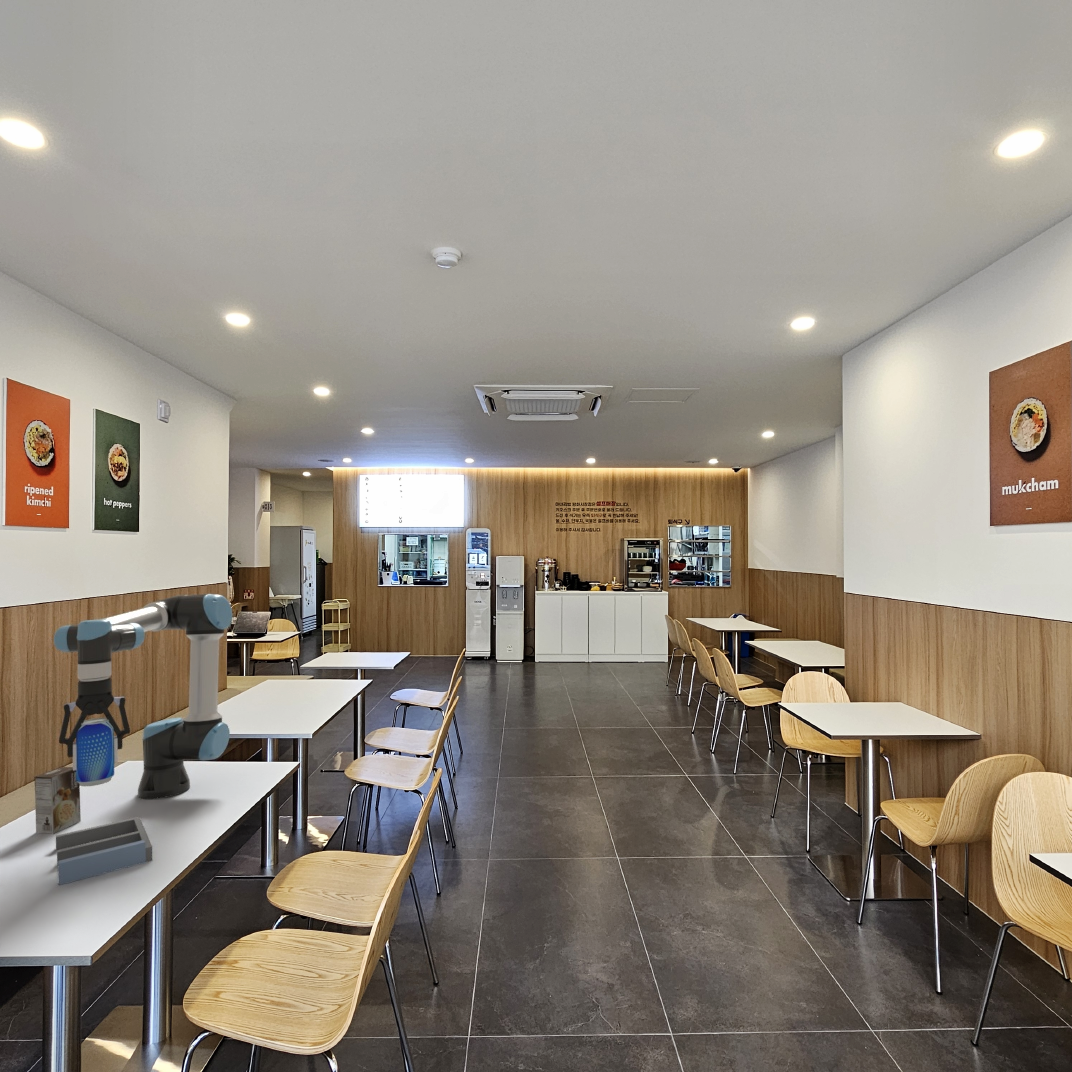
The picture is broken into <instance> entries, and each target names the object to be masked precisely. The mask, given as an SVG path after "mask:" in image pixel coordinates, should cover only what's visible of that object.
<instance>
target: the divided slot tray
mask: <svg viewBox="0 0 1072 1072" xmlns="http://www.w3.org/2000/svg"><path fill="white" fill-rule="evenodd" d="M55 851H56V867H57V869H58V870H57V871H58V872H57V875H58V876H57V877H58V885H59V886H61V885H64V884H69V883H72V882H76V881H80V880H83V879H87V878H91V877H95V876H98V875H99V876H100V875H103V874H105V873H109V872H114V871H119V870H122V869H125V868H128V867H133V866H137V865H140V864H144V863H148V862H151V861H153V845H152V843H151V841H150V838H149V836H148V833H147V831H146V828H145V826H144V824H143V822H142V818H141V817H140V816H136V817H131V818H127V819H123V820H118V821H113V822H111V823H106V824H101V825H96V826H91V827H87V828H84V829H79V830H75V831H70V832H66V833H61V834H57V835H55Z"/></svg>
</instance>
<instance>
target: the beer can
mask: <svg viewBox="0 0 1072 1072" xmlns="http://www.w3.org/2000/svg"><path fill="white" fill-rule="evenodd" d="M81 725H82V726H81V727H80V729H79V730H78V732H77V736H76V738H75V743H76V750H77V770H76V781H77V782H78V783H79V784H80V786H81V787H95V786H100V785H103V784H107V783H109V782H110V781H111V780H112V779H113V777H114V775H115V764H114V737H115V732H114V730H113V727H112V725H111V724H110V723H109V720H107V718H106V717H98V718H90V719H85V720H84V722H83V723H81Z"/></svg>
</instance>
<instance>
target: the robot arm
mask: <svg viewBox="0 0 1072 1072" xmlns="http://www.w3.org/2000/svg"><path fill="white" fill-rule="evenodd" d="M232 621H233V610H232V605H231V604H230V602H229V601H228V599H227V597H225V596H223V595H222V594H214V593H213V594H212V593H206V594H180V595H175V596H170V597H167V598H163V599H159V600H156V601H153V602H149V603H147V604H145V605H144V606H143V607H142V608H138V609H135V610H130V611H127V612H124V613H120V614H115V615H112V616H108V617H105V618H104V617H103V618H100V619H90V620H89V619H88V620H82V621H80V622H79V623H78V624H70V625H62V626H60V627H59V628H58V629H57V630H56V631H55V633H54V636H53V645H54V647H55V648H56V649H57V650H58V651H60V652H62V653H70V654H71V653H77V679H78V680H79V681H78V682H77V698H76V700H75V701H73V702H70V703H68V702H65V703H64V704H63V710H64V715H63V719H62V724H61V729H60V732H59V737H58V743H59V744H61V745H62V744H64V745H66V746H67V752H66V753H67V754H66V755H67V757H68V758H72V767H73V771H74V770H77V750H76V742H75V741H76V736H77V732H78V730H79V729H80V727H81V726H82V725H81V723H83V722H84V721H85V720H87V719H86V718H87V716H88V717H90V716H93V715H94V716H95V715H103V716H105V718H107V720H109V723H110V724H111V725H112V727H113V730H114V734H115V735H116V736H115V735H114V765H115V764H118V761H119V760H118V759H119V758H118V750H122V749H123V738H124V736H126V735H128V734H130V733H131V728H130V725H129V719H128V715H127V712H126V707H125V705H126V698H125V696H116V697H115V696H114V695H113V692H112V691H113V689H112V688H113V687H112V686H113V685H112V684H113V683H112V681H113V680H112V678H111V676H112V674H113V673H112V653H117V652H118V653H119V652H123V651H131V650H134V649H137V648H139V647H140V646H141V645H143V643H144V641H145V636H146V633H147V632H149V631H150V632H160V631H164V630H167V631H169V630H170V631H171V630H178V631H179V630H183V631H184V630H185V636H186V637H187V638H188V639H189V641H190V651H189V653H190V654H189V656H190V657H189V658H190V659H189V686H188V687H189V688H188V689H189V693H188V714H187V715H186V716H184V717H183V718H182V717H171V718H167V719H162V720H159V721H154V722H152V723H150V724H147V725H146V726H144V728H143V730H142V731H143V732H142V739H141V740H142V751H143V752H142V754H143V755H142V757H143V759H142V760H143V772H142V775H141V778H140V781H139V784H138V788H137V797H138V798H140V799H143V800H156V799H163V798H170V797H173V796H177V795H179V794H182V793H184V792H186V791H188V790H189V789H190V787H191V781H190V778H189V774H188V772H187V770H186V766H185V764H184V761H191V760H192V761H193V760H194V761H196V760H197V761H210V760H215V759H218V758H220V757H221V756H222V754H223V753H224V752H225V750H226V749H227V747H228V745H229V744H228V743H229V740H230V728H229V725H228V724H227V723H225V722H223V715H222V714H221V713H219V711H218V704H219V703H218V702H219V701H218V700H219V699H218V697H219V694H218V693H219V665H220V664H219V661H220V660H219V659H220V658H219V657H220V655H219V653H220V639H221V638H222V637H223V636H224V635H225V629H227V628H229V627H230V626H231V624H232V623H231V622H232ZM113 702H115V705H116V706H118V709H119V714H120V718H121V722H122V727H123V729H120V728H119V727H120V726H119V725H118V724H117V722H116V720H115V719H114V716H113V715H112V714H111V712H110V710H109V708H110V706H111V705H112V704H113ZM75 707H77V708H78V709H79V710H80V714H79V716H78V719H77V720H76V723H75V725H74V727H73V728H72V730H71V732H70V735H69V737H68V738H67V737H66V736H67V731H68V728H69V724H70V719H71V718H70V717H71V712H73V711H74V709H75Z"/></svg>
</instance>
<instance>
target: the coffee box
mask: <svg viewBox="0 0 1072 1072" xmlns="http://www.w3.org/2000/svg"><path fill="white" fill-rule="evenodd" d="M80 789H81V787H80V784H79V783H78V782H77V781H76V770H74V771H73V766H61V767H58V768H55V769H52V770H49V771H46V772H44V773H41V774H38V775H35V776H34V800H35V801H34V805H35V806H34V807H35V809H34V810H35V833H37V834H38V833H39V834H56V833H58V832H60V831H62V830H65V829H66V828H68V827H70V826H72V825H74V824H75V825H76V824H77V823H79V822H81V821H82V819H81V791H80Z"/></svg>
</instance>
